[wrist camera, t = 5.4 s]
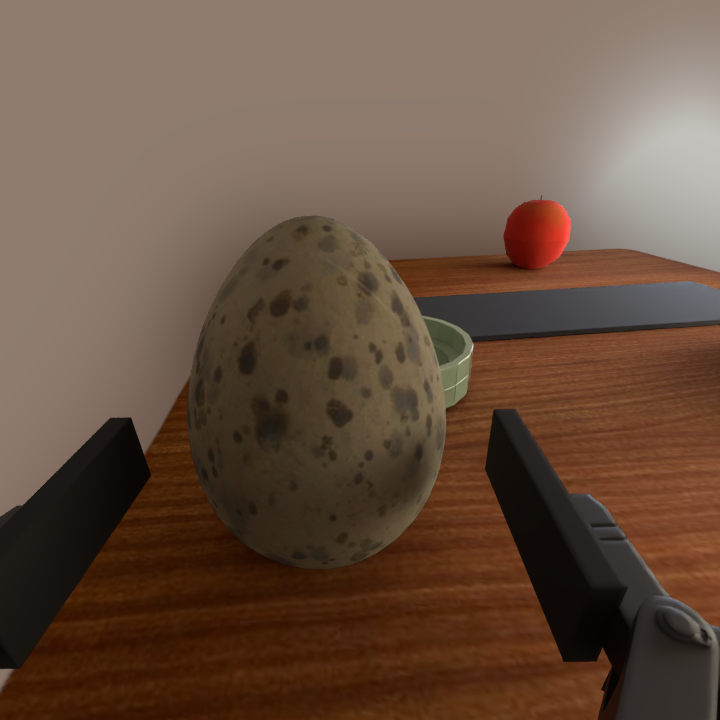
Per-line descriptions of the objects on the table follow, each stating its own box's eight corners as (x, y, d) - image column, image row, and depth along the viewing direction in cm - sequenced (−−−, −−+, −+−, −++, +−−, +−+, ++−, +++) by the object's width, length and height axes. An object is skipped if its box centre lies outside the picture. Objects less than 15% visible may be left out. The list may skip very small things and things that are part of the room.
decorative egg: (463, 491, 22) (496, 204, 15) (375, 695, 14) (366, 259, 7) (307, 437, 27) (282, 201, 20) (172, 563, 18) (53, 231, 12)
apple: (575, 268, 66) (591, 194, 61) (528, 275, 63) (541, 198, 58) (531, 257, 75) (542, 191, 70) (488, 263, 71) (495, 194, 66)
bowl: (291, 389, 33) (286, 345, 31) (380, 342, 41) (380, 305, 39) (415, 447, 26) (418, 394, 24) (492, 375, 34) (498, 332, 32)
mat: (365, 349, 40) (365, 343, 39) (353, 305, 52) (353, 301, 52) (798, 319, 43) (800, 314, 43) (689, 285, 56) (691, 281, 56)
